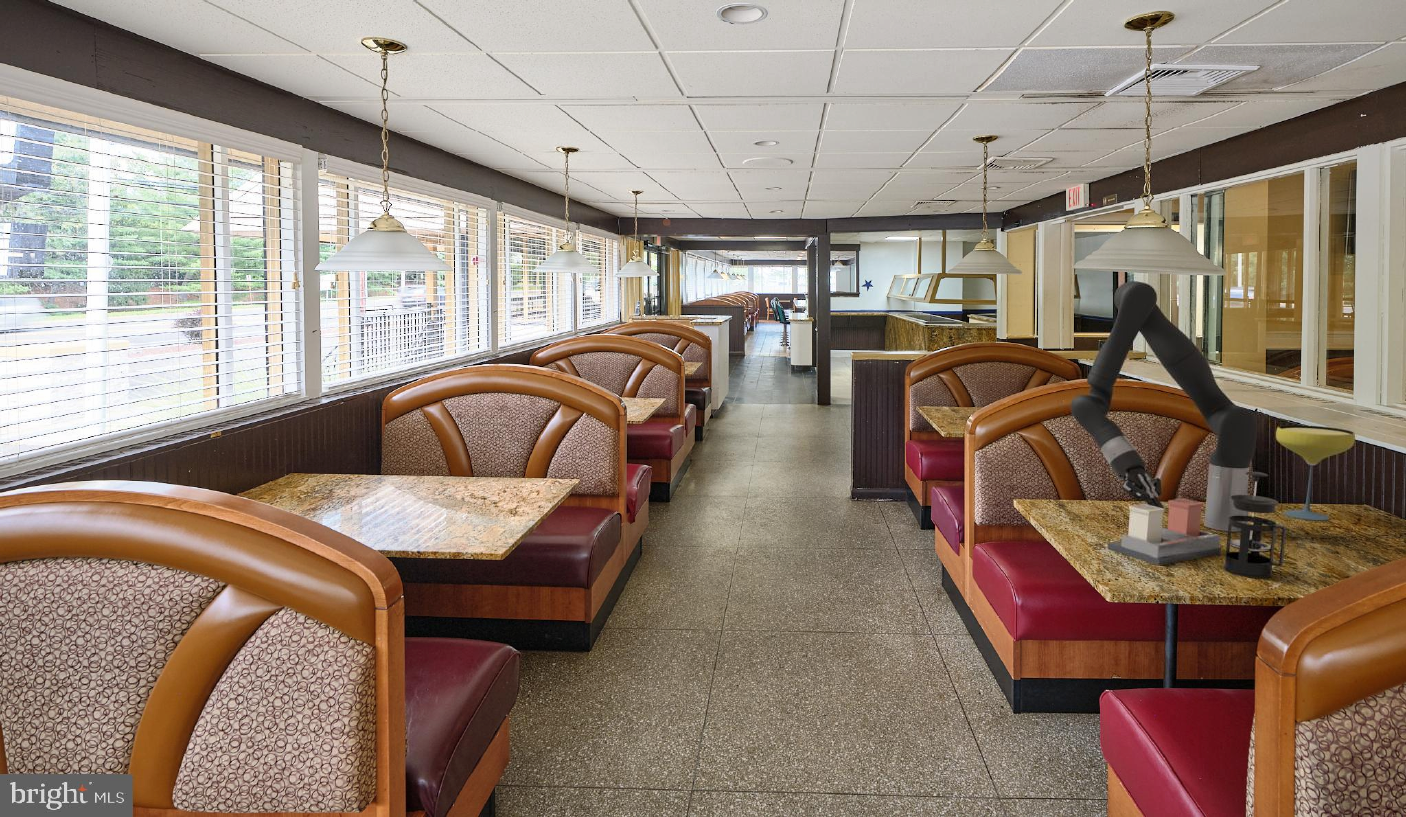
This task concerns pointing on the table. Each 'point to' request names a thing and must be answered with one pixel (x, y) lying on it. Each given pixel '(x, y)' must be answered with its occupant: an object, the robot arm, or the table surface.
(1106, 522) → the table surface
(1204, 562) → the table surface
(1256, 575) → the french press
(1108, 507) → the table surface
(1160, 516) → the white tall block
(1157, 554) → the dark grey tray
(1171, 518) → the pink boxy piece
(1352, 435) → the cocktail glass
